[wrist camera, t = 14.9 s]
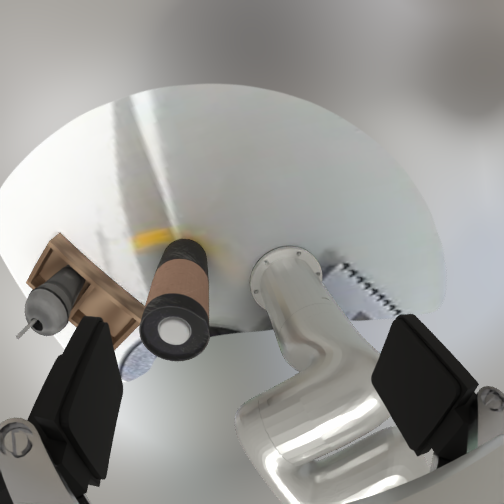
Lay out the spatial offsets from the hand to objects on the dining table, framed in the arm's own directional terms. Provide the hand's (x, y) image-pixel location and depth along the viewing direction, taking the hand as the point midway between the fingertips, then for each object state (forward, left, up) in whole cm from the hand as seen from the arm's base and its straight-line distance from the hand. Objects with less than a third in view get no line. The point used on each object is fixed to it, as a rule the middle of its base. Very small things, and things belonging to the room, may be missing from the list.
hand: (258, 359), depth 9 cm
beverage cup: (+7, +29, -38) cm, 48 cm away
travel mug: (-5, +13, -38) cm, 41 cm away
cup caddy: (+4, +30, -38) cm, 49 cm away
